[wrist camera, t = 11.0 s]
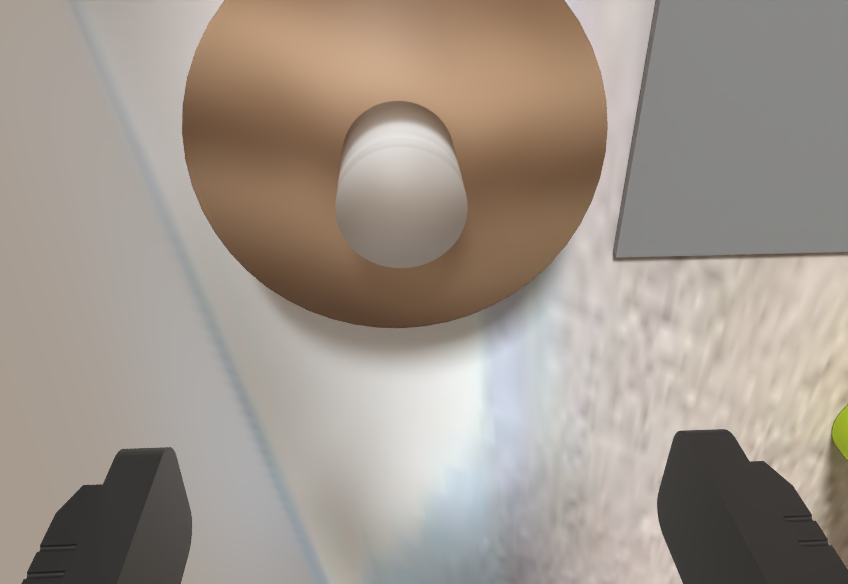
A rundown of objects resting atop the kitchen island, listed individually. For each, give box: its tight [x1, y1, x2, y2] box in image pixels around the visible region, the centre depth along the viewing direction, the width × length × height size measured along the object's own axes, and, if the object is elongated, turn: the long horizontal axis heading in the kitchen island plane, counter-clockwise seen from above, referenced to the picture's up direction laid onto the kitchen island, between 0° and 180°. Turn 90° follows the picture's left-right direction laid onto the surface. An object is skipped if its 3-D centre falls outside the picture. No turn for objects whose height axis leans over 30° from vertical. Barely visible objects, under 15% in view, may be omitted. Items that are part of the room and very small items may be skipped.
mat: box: [613, 0, 848, 258], centre depth 31 cm, size 16×16×1 cm
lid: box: [182, 0, 608, 328], centre depth 23 cm, size 15×15×5 cm
